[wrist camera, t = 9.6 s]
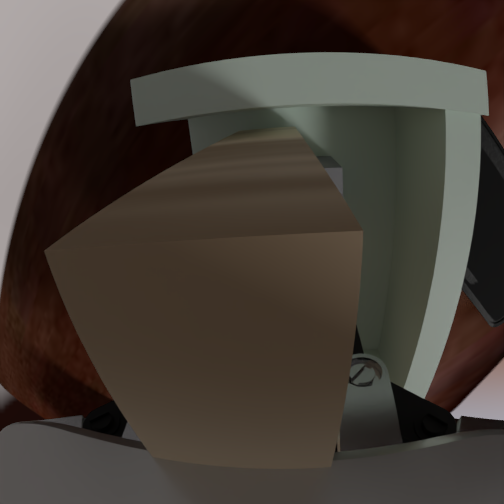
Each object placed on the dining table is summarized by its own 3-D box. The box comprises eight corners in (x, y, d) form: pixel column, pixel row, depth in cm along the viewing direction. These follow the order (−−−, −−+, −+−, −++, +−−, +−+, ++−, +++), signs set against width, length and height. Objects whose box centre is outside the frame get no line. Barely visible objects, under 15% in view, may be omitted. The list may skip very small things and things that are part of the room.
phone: (467, 96, 12) (557, 260, 15) (456, 96, 13) (549, 254, 16) (378, 200, 15) (493, 333, 18) (372, 195, 16) (487, 324, 19)
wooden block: (216, 133, 13) (-16, 255, 2) (294, 126, 13) (363, 230, 2) (246, 347, 18) (211, 547, 7) (304, 345, 18) (305, 552, 7)
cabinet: (193, 90, 14) (130, 79, 8) (409, 81, 13) (485, 71, 6) (234, 356, 21) (217, 440, 15) (390, 347, 20) (415, 428, 13)
